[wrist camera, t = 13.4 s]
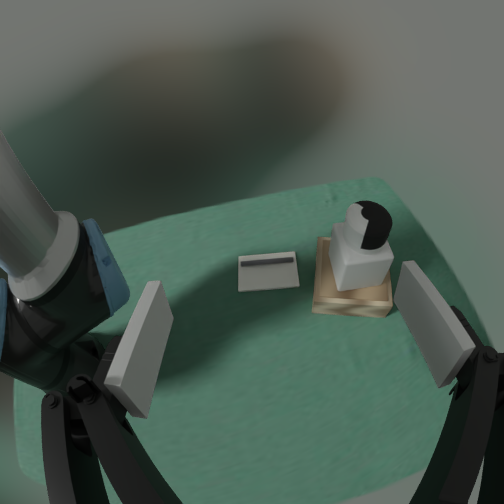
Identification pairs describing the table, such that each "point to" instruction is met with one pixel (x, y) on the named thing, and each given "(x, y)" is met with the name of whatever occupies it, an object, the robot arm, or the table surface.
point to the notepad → (267, 272)
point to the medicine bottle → (361, 247)
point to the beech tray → (347, 291)
